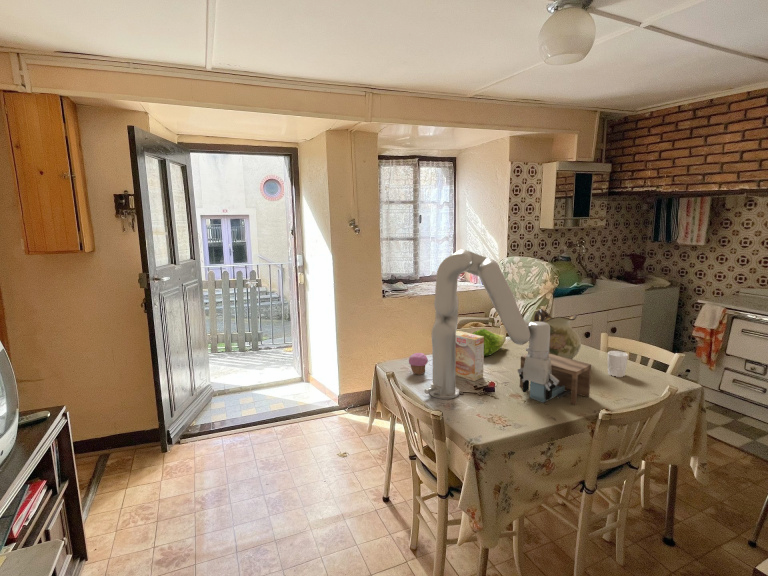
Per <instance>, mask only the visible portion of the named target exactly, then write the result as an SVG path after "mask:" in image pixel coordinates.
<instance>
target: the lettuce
mask: <svg viewBox="0 0 768 576" xmlns="http://www.w3.org/2000/svg"><path fill="white" fill-rule="evenodd" d="M471 334H475V335H479V336H484V357H486V356H491V355H492V354H494V353H496V352H497V351H499V350H500V349H501V348H502V347H503V346H504V344H505V341H506V336H505V335H504V334H498V333H494V332H492V331H490V330H487V329H485V328H481V329H478V330H476V331H473V332H472V333H471Z"/></svg>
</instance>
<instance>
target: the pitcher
mask: <svg viewBox="0 0 768 576" xmlns="http://www.w3.org/2000/svg"><path fill="white" fill-rule="evenodd" d="M577 318H578V317H577V314H573V315H571V316H568V317H565V316H555V317H552V316H551V315H550V314H549V312H548V311H546V310H544V309H542V308H540V309H539V308H538V310H537V311H536V312H535V313H534V316H533V322H545V323H548V324H549V325H550V343H549V354H552V355H556V356H560V357H564V358H568V359H572V360H574V358H575V357H576V356H577V355H578V353H579V352H580V350H581V348H582V342H581V338H580V336H579V335H578V333H577V332H576V330H574V329H573V328H572V327H571V324H570V322H571V321H572V322H573V321H575V320H576V319H577Z"/></svg>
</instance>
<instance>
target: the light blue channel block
mask: <svg viewBox="0 0 768 576" xmlns="http://www.w3.org/2000/svg"><path fill="white" fill-rule="evenodd" d="M551 383H552V382H551ZM552 385H553V384H552ZM564 389H565V386H564V385H563V386H561V387H559V386H556V387H555V388H553V389H552V397H551V398H550V399H548V401H550V400H551V399H553V398H555V397H557V395H558V394H560V393H562V392H564V391H565V390H564ZM546 390H547V388H546V387H545V385H541V384H537V383H534V382H531V381H529V398H530V399H532V400H535V401H538V402H541V403H546V402H547V400H546V399H545V395H546Z"/></svg>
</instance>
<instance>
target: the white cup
mask: <svg viewBox="0 0 768 576" xmlns="http://www.w3.org/2000/svg"><path fill="white" fill-rule="evenodd" d="M628 356H629V355H628V353H627V352H625V351H621V350H610V351H608V352H607V374H608V375H609V376H611V375H612V376H611V377H614V376H616V378H624V377H625V376H626V370H627V365H628V364H627V363H628ZM623 376H624V377H623Z"/></svg>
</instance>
